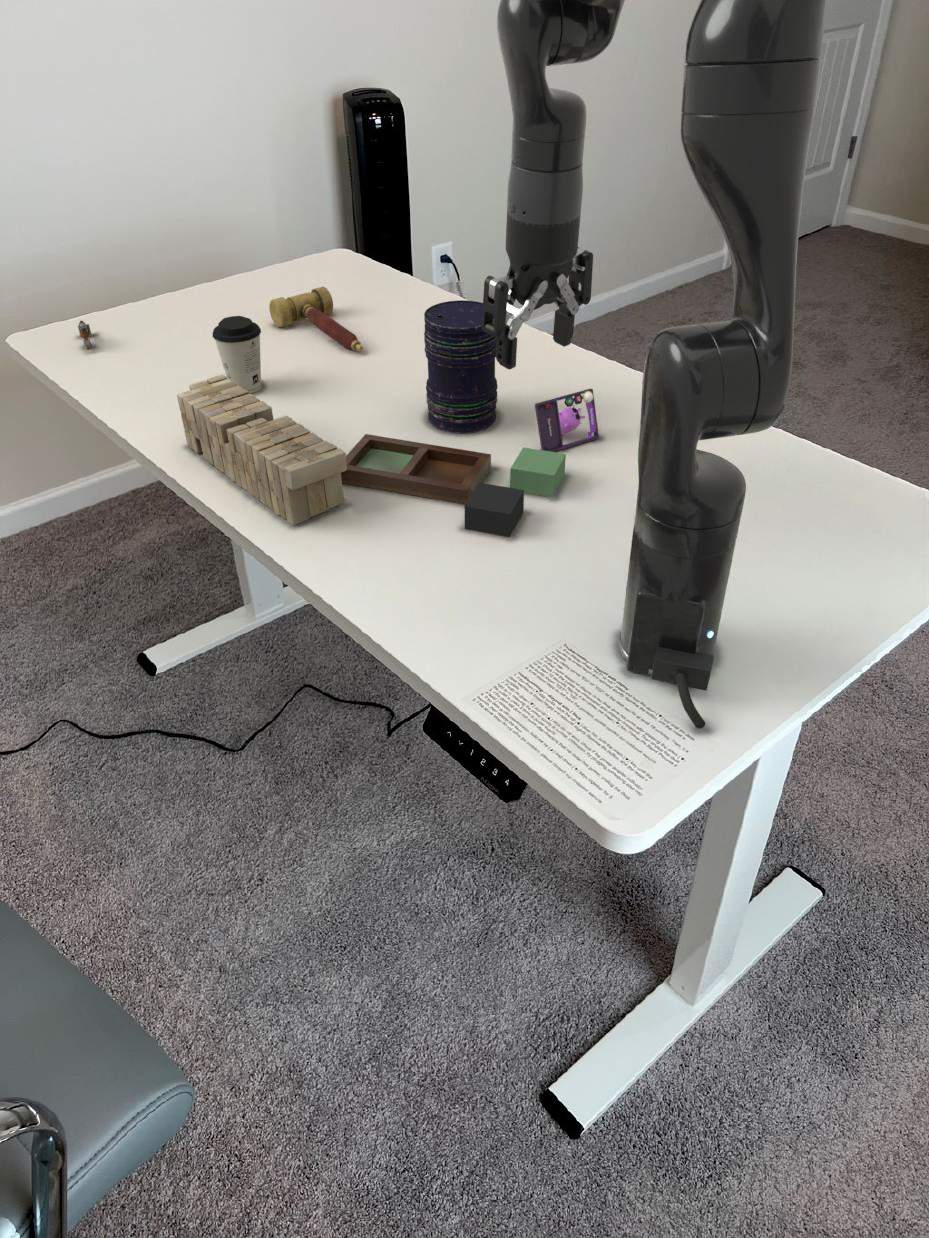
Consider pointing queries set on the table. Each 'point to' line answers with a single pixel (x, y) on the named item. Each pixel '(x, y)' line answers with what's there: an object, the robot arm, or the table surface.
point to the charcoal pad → (494, 509)
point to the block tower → (262, 449)
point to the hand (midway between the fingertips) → (534, 354)
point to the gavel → (313, 315)
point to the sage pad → (538, 472)
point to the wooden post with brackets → (85, 333)
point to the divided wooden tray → (416, 468)
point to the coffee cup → (240, 351)
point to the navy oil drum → (459, 368)
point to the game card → (564, 420)
